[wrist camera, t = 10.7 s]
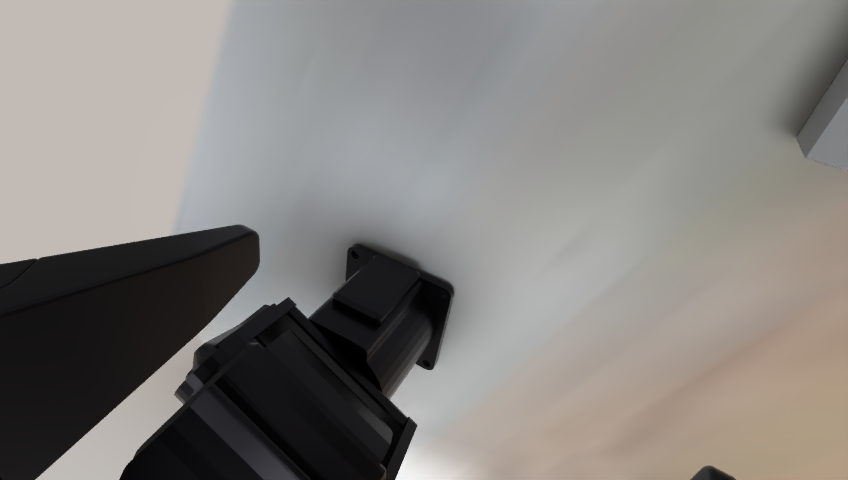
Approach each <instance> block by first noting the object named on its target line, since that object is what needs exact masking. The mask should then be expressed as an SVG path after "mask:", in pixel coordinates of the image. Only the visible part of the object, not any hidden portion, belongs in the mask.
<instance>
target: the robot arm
mask: <svg viewBox="0 0 848 480" xmlns="http://www.w3.org/2000/svg"><path fill="white" fill-rule="evenodd" d="M356 252H357V253H358V254H359V255H358V254H357V253H356ZM259 263H260V246H259V235H258V233H257V232H256V231H254V230H252V229H250V228H248V227H246V226H244V225H233V226H227V227H221V228H215V229H209V230H203V231H197V232H191V233H185V234H179V235H173V236H167V237H161V238H155V239H149V240H143V241H138V242H131V243H126V244H119V245H114V246H108V247H101V248H95V249H89V250H83V251H78V252H72V253H65V254H60V255H54V256H48V257H42V258H40V259H29V260H23V261H18V262H12V263H6V264H0V480H35V479H36V478H37V477H39V476H40V475H41V474H42V473H43V472H44V471H45V470H46V469H48V468H49V467H50V466H51V465H52V464H53V463H54V462H55V461H56V460H58V459H59V458H60V457H61V456H62V455H63V454H64V453H65V452H66V451H68V450H69V449H70V448H71V447H72V446H73V445H74V444H75V443H76V442H78V441H79V440H80V439H81V438H82V437H83V436H84V435H85V434H87V433H88V432H89V431H90V430H91V429H92V428H93V427H94V426H95V425H97V424H98V423H99V422H100V421H101V420H102V419H103V418H104V417H106V416H107V415H108V414H109V413H110V412H111V411H112V410H113V409H114V408H116V407H117V406H118V405H119V404H120V403H121V402H122V401H123V400H124V399H126V398H127V397H128V396H129V395H130V394H131V393H132V392H133V391H135V390H136V389H137V388H138V387H139V386H140V385H141V384H142V383H143V382H145V381H146V380H147V379H148V378H149V377H150V376H151V375H152V374H154V372H156V371H157V370H158V369H159V368H160V367H161V366H162V365H164V364H165V363H166V362H167V361H168V360H169V359H170V358H171V357H172V356H173V355H175V354H176V353H177V352H178V351H179V350H180V349H181V348H182V347H184V346H185V345H186V344H187V343H188V342H189V341H190V340H191V339H193V338H194V337H195V336H196V335H197V334H198V333H199V332H200V331H201V330H202V329H203V328H205V327H206V326H207V325H208V324H209V323H210V322H211V321H212V320H213V319H214V318H215V317H216V315H217V314H218V313H219V312H220V311H221V310H222V309H223V308H224V307H225V306H226V304H227V303H228V302H229V301H230V300H231V299H232V298H233V297H234V296H235V295H236V293H237V292H238V291H239V290H240V289H241V288H242V287H243V286H244V285H245V284H246V283H247V281H248V280H249V279H250V278H251V277H252V276H253V275H254V274H255V272H256V271H257V269H258V267H259ZM442 291H443V292H444V293H446V295H444V294H443V293H442ZM453 297H454V291H453V289H452V288H451V286H449V285H448V284H446V283H444V282H441V281H439V280H437V279H435V278H433V277H430V276H428V275H426V274H424V273H422V272H419V271H417V270H415V269H413V268H411V267H408V266H406V265H404V264H402V263H400V262H397V261H395V260H393V259H391V258H388V257H386V256H384V255H382V254H380V253H377V252H375V251H373V250H371V249H369V248H366V247H364V246H362V245H360V244H354V245H353V246H352V247H350V248H349V249H348V255H347V269H346V282H345V283H344V284H343V285H342V286H341V287H340V288H338V289H337V290H336V291H335V292H334V293H333V295H332V297H331V298H329V299H328V300H327V301H326V302H325V303H324V304H323V305H322V306H321V307H320V308H319V309H317V310H316V311H315V312H314V313H313V314H312V315H311V316H310V317H309V318H307V317H306V316H305V315H304V314H303V313H302V312H301V311H300V310H299V309H298V308H297V307H295V306H296V304H295V303H294V302H293V301H292V300H291V299H290V298H289V297H288V298H286V299H285V300H284V301H282V302H281V303H279V304H278V305H276V304H275V303H274V304H272V305H271V306H269V305H264V306H262V307H261V308H260V309H259V310H257V311H256V312H255V313H254V314H252V315H251V316H250V317H249V318H247V319H246V320H245V321H243V322H242V323H241V324H239V325H237V326H236V327H234V328H232V329H230V330H228V331H226V332H225V333H223V334H221V335H219V336H217V337H215V338H213V339H211V340H210V341H208V342H206V343H204V344H203V345H202V346H200V347H199V348H198V349H197V350H196V351H195V353H194V359H193V368H192V370H191V371H190V372H189V373H188V374H187V376H186V380H185V381H184V382H183V383H182V384H181V385H180V386H179V388H178V389H177V391H176V392H175V394H174V395H175V396H176V397H177V398H178V399H179V400H180V401H181V402H182V403H183V404H184V405H183V406H182V407H181V408H180V409H179V410H178V411H177V412H176V413H175V414H174V415H173V416H172V417H171V418H170V419H169V420H167V422H165V423H164V425H162V426H161V427H160V428H159V429H158V430H157V431H156V432H155V433H154V434H153V435H152V436H151V437H150V438H149V439H148V440H147V441H146V442H145V443H144V444H143V445H142V446H141V447H140V448H139V449H138V450H137V452H136V454H135V456H134V458H133V460H132V461H131V462H130V463H128V465H127V466H126V467H125V469H124V470H123V473H122V475H121V477H120V479H119V480H395V478H396V476H397V474H398V471H399V469H400V466H401V464H402V461H403V459H404V457H405V454H406V452H407V449H408V447H409V444H410V442H411V440H412V437H413V435H414V432H415V430H416V427H417V424H416V423H415V422H414V421H413V420H412V419H411V418H410V417H408V418H407V417H406V416H405V415H404V414H403V413H402V412H401V411H400V410H399V409H398V408H397V407H396V406H395V405H394V404H393V403H392V402H391V401H390V398H391V397H392V395H393V394H394V393H395V391H396V390H397V388H398V387H399V386H400V384H401V383H402V381H403V380H404V379H405V377H406V376H407V374H408V373H409V371H410V370H411V369H412V367H413V366H414V364H417V365H419V366H421V367H423V368H424V369H427V370H432V369H433V368H434V366H435V365H436V363H437V360H438V356H439V352H440V348H441V344H442V340H443V336H444V332H445V329H446V325H447V321H448V317H449V313H450V309H451V305H452V301H453ZM690 480H736V479H735V478H734V477H732V476H730V475H728V474H726V473H724V472H723V471H721V470H719V469H717V468H715V467H713V466H705V467H703V468H702V469H701V470H700V471H699V472H698V473H697V474H696V475H695V476H693V477H692V478H691V479H690Z"/></svg>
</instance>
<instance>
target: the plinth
mask: <svg viewBox="0 0 848 480" xmlns="http://www.w3.org/2000/svg"><path fill="white" fill-rule="evenodd" d="M796 139H797V141H798V143H799V145H800V147H801V150H802V152H803V154H804V156H805V158H806V159H809V160H813V161H816V162H819V163H823V164H826V165H830V166H833V167H837V168H840V169H843V170H847V171H848V59H847V60H846V62H845V63H844V65H843V66H842V68H841V69H840V71H839V72H838V74H837V76H836V77H835V79H834V80H833V82H832V83H831V85H830V86H829V88H828V89H827V91H826V92H825V94H824V96H823V97H822V99H821V100H820V102H819V103H818V105H817V106H816V108H815V109H814V111H813V112H812V114H811V116H810V117H809V119H808V120H807V122H806V123H805V125H804V126H803V128H802V129H801V131H800V133H799V134H798V136H797V137H796Z"/></svg>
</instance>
